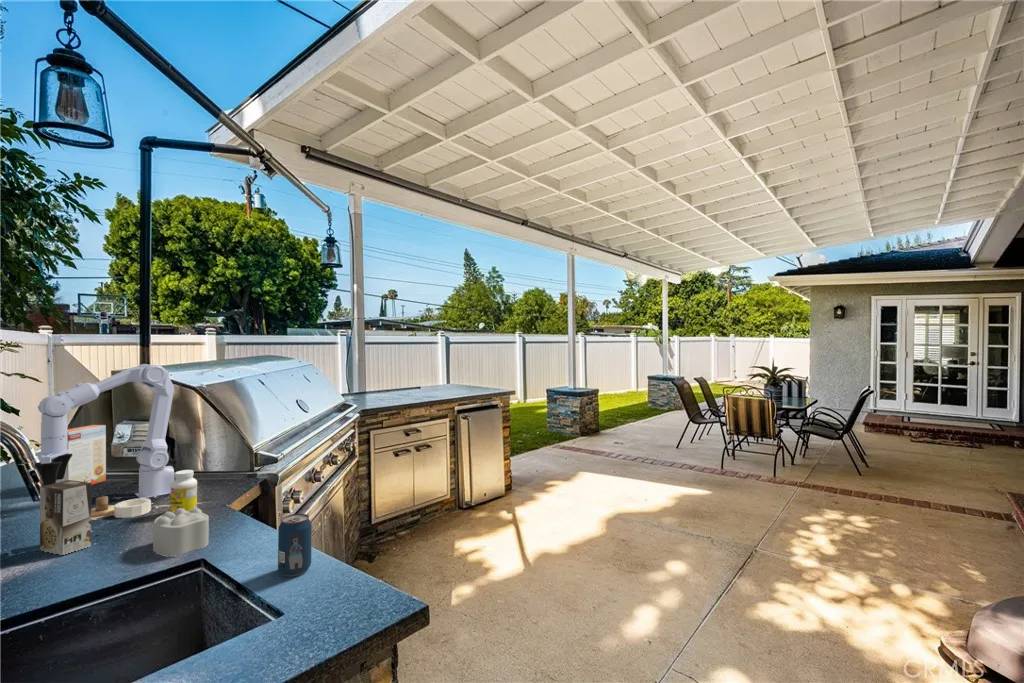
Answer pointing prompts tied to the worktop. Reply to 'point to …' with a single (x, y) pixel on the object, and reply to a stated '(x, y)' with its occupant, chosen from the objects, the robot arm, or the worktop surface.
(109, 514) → the mat
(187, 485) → the supplement bottle
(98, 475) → the cracker box
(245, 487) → the worktop surface
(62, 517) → the coffee box
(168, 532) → the beige bumpy block
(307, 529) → the soda can
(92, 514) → the bamboo lid
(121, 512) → the bowl
